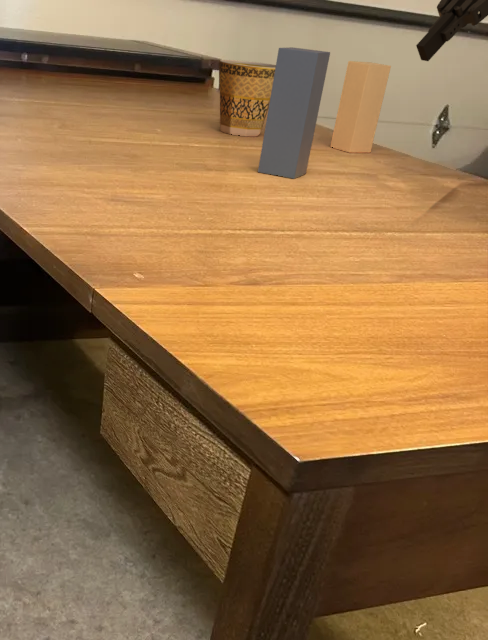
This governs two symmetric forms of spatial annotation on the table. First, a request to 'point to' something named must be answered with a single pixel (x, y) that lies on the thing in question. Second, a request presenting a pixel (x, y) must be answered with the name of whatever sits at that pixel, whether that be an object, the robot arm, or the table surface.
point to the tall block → (360, 106)
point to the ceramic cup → (244, 96)
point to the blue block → (293, 111)
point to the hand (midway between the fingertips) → (422, 53)
